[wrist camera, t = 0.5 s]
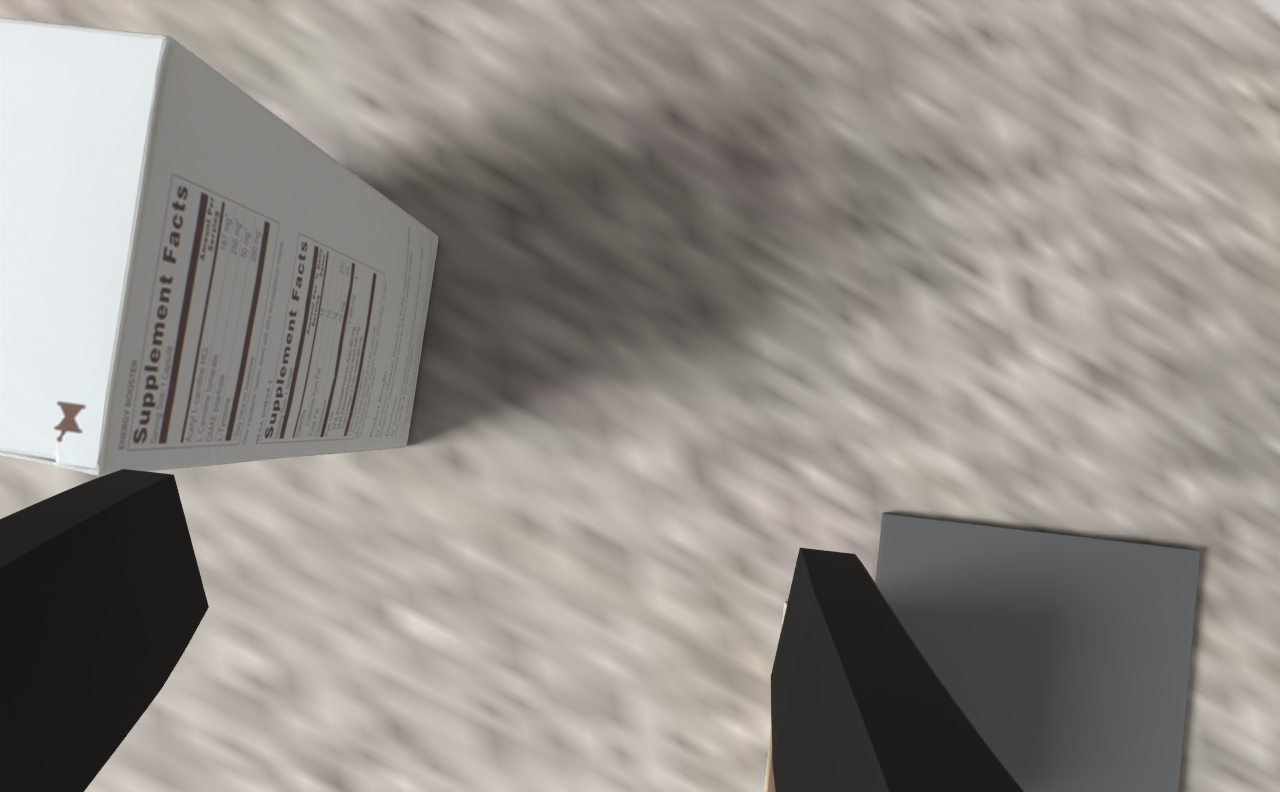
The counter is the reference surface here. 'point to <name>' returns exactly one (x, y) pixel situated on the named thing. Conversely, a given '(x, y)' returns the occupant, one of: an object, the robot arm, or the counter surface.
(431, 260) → the supplement box
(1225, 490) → the counter surface
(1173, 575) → the mat
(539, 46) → the counter surface
